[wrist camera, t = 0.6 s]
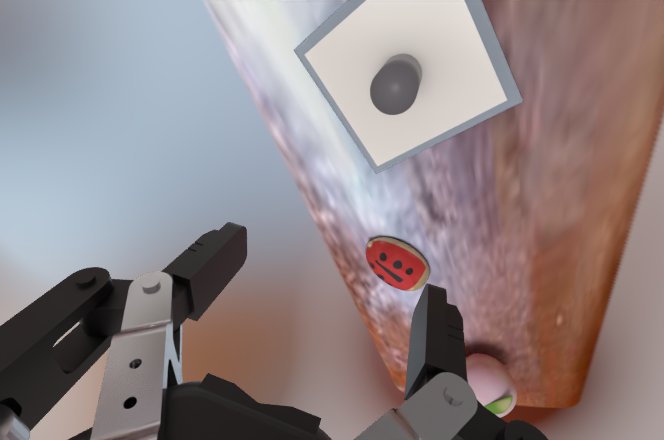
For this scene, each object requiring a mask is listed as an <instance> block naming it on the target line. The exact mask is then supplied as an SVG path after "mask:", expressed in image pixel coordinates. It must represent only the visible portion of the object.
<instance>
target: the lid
mask: <svg viewBox="0 0 664 440" xmlns="http://www.w3.org/2000/svg"><path fill="white" fill-rule="evenodd" d="M305 57H306V58H307V60H308V61H309V63H310V64H311V66H312V67H313V69H314V70H315V72H316V73H317V75H318V76H319V78H320V79H321V81H322V82H323V84H324V85H325V87H326V89H327V90H328V92H329V93H330V95H331V96H332V98H333V99H334V101H335V102H336V104H337V105H338V107H339V108H340V110H341V111H342V113H343V114H344V116H345V118H346V119H347V121H348V122H349V124H350V125H351V127H352V128H353V130H354V131H355V133H356V134H357V136H358V137H359V139H360V140H361V142H362V143H363V145H364V147H365V148H366V150H367V151H368V153H369V154H370V156H371V157H372V159H373V160H374V162H375V163H376V165H377V166H379V165H381V164H383V163H385V162H387V161H389V160H391V159H393V158H395V157H397V156H399V155H401V154H403V153H405V152H407V151H409V150H411V149H413V148H415V147H417V146H419V145H420V144H422V143H424V142H426V141H428V140H430V139H432V138H434V137H436V136H438V135H440V134H442V133H444V132H446V131H448V130H450V129H452V128H454V127H456V126H458V125H460V124H462V123H464V122H466V121H468V120H470V119H472V118H473V117H475V116H477V115H479V114H481V113H483V112H485V111H487V110H489V109H491V108H493V107H495V106H497V105H499V104H501V103H503V102H505V101H507V98H506V96H505V93H504V91H503V89H502V86H501V84H500V82H499V79H498V77H497V75H496V73H495V70H494V68H493V66H492V63H491V61H490V59H489V56H488V54H487V52H486V49H485V47H484V45H483V42H482V40H481V38H480V35H479V33H478V31H477V28H476V26H475V24H474V21H473V19H472V17H471V14H470V12H469V10H468V7H467V5H466V3H465V0H366V1H365V2H364V3H362V4H361V5H360V6H359V7H358V8H357V9H356V10H355V11H353V12H352V13H351V14H350V15H349V16H348V17H347V18H345V19H344V20H343V21H342V22H341V23H340V24H339V25H338V26H336V27H335V28H334V29H333V30H332V31H331V32H330V33H328V34H327V35H326V36H325V37H324V38H323V39H322V40H321V41H319V42H318V43H317V44H316V45H315V46H314V47H313V48H312V49H310V50H309V51H308V52H307V53H306V54H305Z"/></svg>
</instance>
